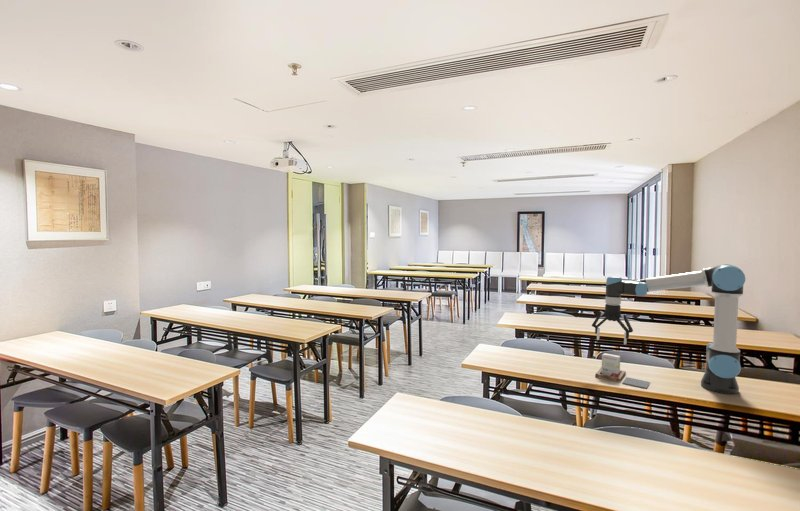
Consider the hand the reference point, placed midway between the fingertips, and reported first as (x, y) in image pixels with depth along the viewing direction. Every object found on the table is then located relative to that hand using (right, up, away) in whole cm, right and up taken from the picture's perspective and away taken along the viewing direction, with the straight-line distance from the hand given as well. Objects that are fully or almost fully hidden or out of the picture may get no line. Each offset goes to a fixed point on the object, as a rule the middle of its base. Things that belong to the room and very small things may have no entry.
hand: (611, 341), depth 215 cm
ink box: (0, -20, +1) cm, 20 cm away
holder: (0, -19, +1) cm, 19 cm away
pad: (+7, -20, -11) cm, 24 cm away
